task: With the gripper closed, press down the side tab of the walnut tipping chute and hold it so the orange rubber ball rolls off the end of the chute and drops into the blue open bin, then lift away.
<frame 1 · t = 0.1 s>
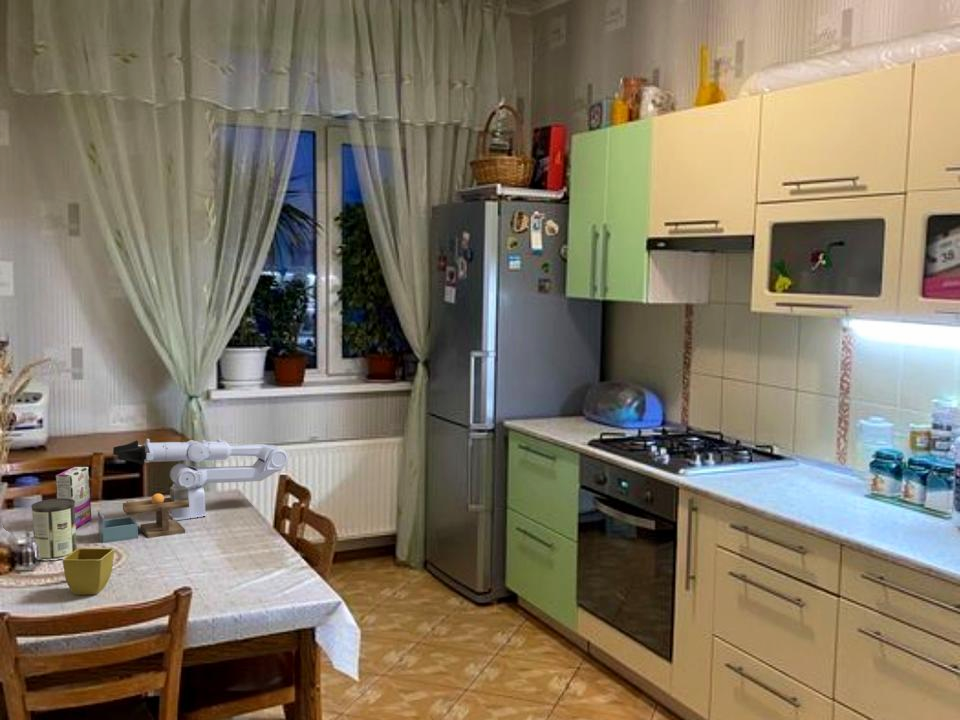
hand: (115, 453, 260), 22 cm above the table, tool horizontal, fingers open, 7 cm apart
blue open bin: (118, 536, 250), on the table
ball: (157, 499, 255), point 9 cm above the table, touching tipping chute
flower pot: (90, 592, 206), on the table
tipping chute: (153, 497, 258), point 9 cm above the table, hinge at 0.0°, touching ball
chute stand: (162, 530, 257), on the table
coffee can: (55, 556, 233), on the table
candy bar box: (75, 525, 262), on the table
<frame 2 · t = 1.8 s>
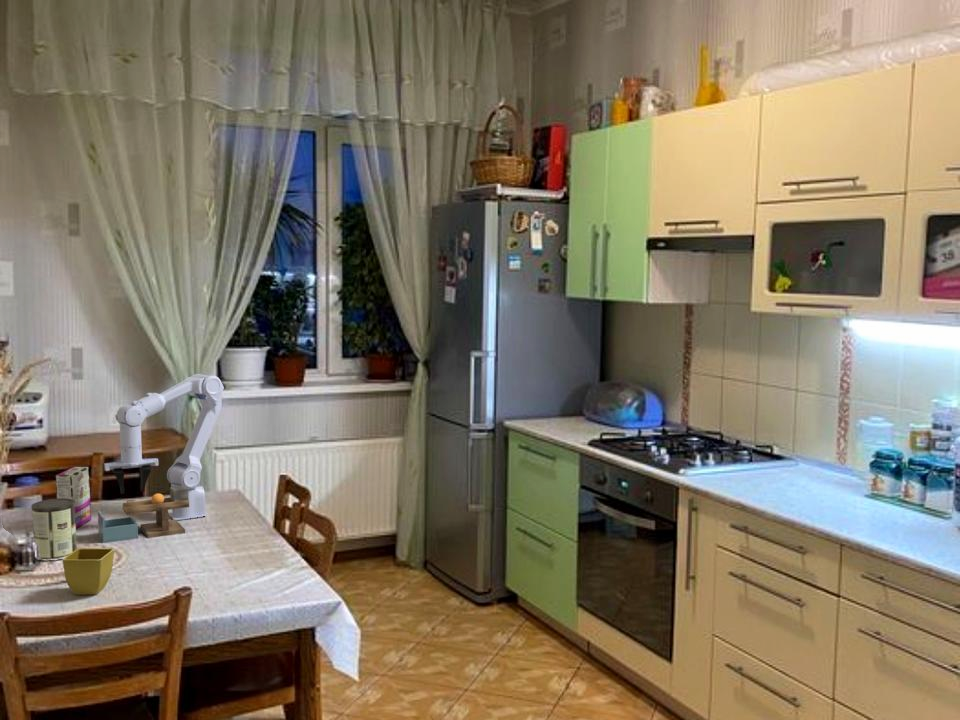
hand: (132, 492, 259), 10 cm above the table, tool pointing down, fingers open, 5 cm apart
nothing on the table moved.
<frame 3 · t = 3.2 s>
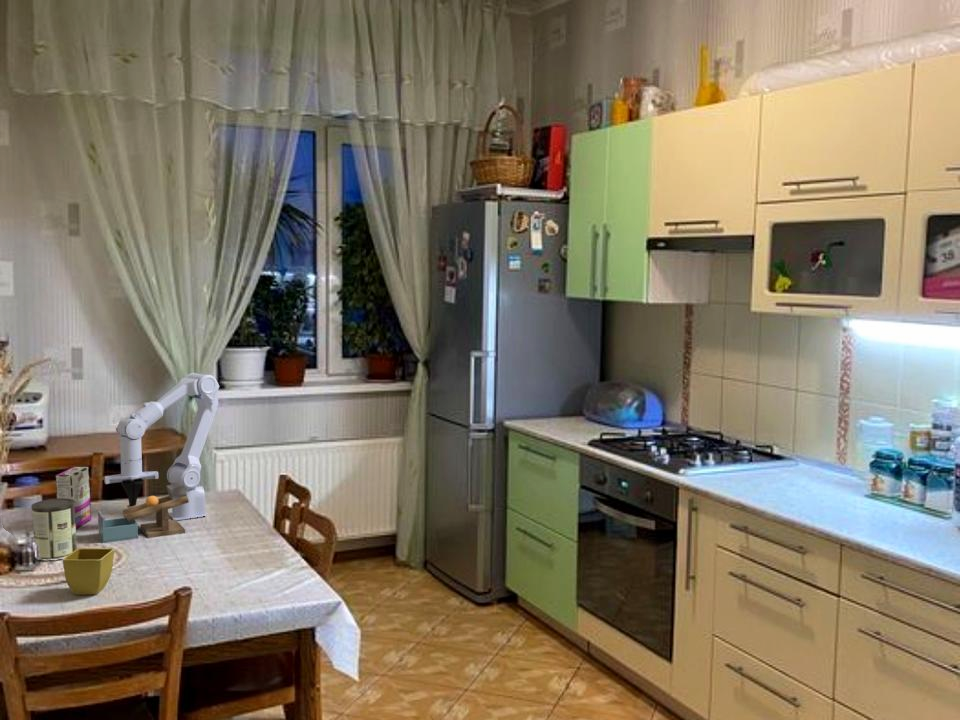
hand: (132, 505, 259), 7 cm above the table, tool pointing down, fingers closed, pressing on tipping chute
ball: (152, 501, 255), point 9 cm above the table, tilted 50°, touching tipping chute
tipping chute: (152, 498, 257), point 9 cm above the table, hinge at 11.3°, touching ball, gripper
everything else where it was.
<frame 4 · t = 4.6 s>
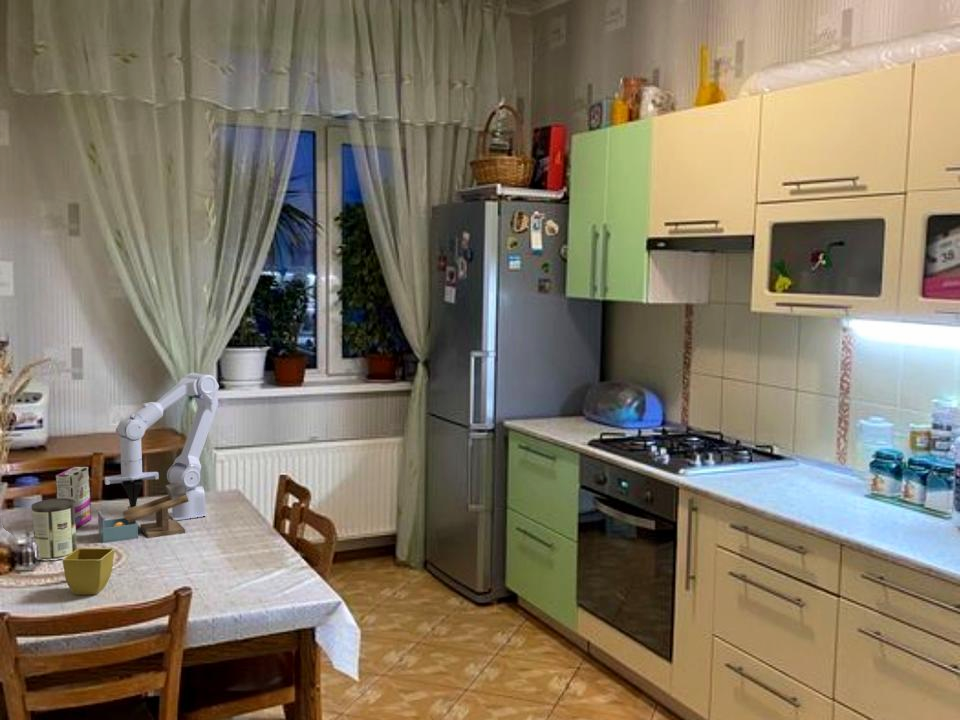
hand: (132, 505, 259), 6 cm above the table, tool pointing down, fingers closed
ball: (119, 528, 250), point 2 cm above the table, tilted 21°, touching blue open bin
tipping chute: (152, 499, 257), point 9 cm above the table, hinge at 13.9°, touching gripper
everything else where it was.
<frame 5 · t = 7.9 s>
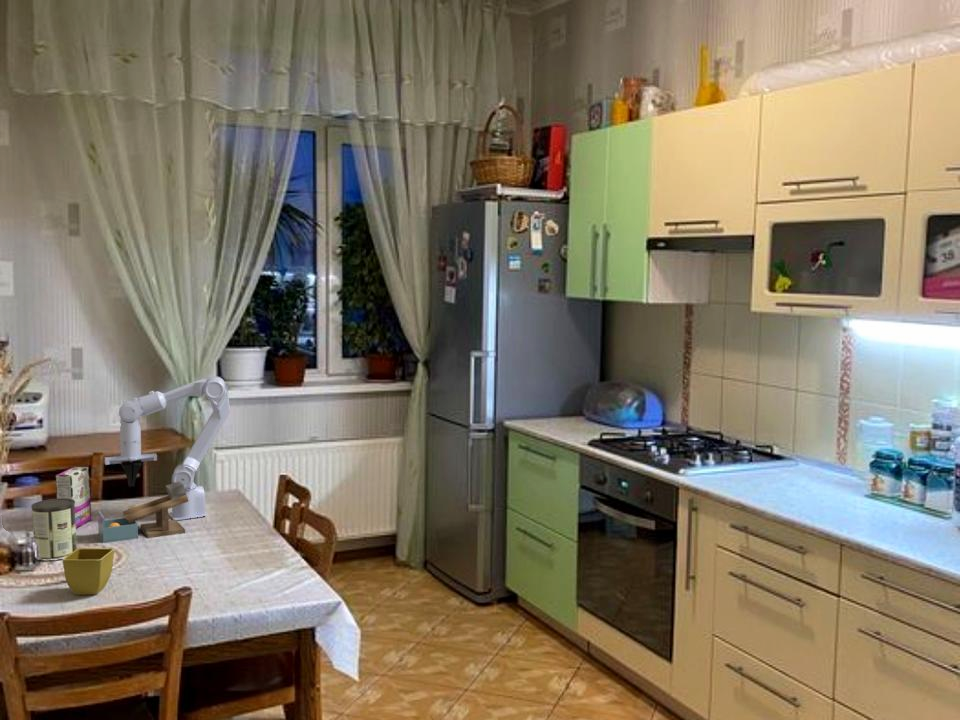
hand: (131, 486, 267), 10 cm above the table, tool pointing down, fingers closed
ball: (114, 529, 250), point 2 cm above the table, tilted 23°, touching blue open bin
tipping chute: (152, 499, 257), point 9 cm above the table, hinge at 13.8°
everything else where it was.
at the end: ball inside the target area on the blue open bin (0.8 cm from its centre), point 2.2 cm above the blue open bin's base; ball moved 13.7 cm from its start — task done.
